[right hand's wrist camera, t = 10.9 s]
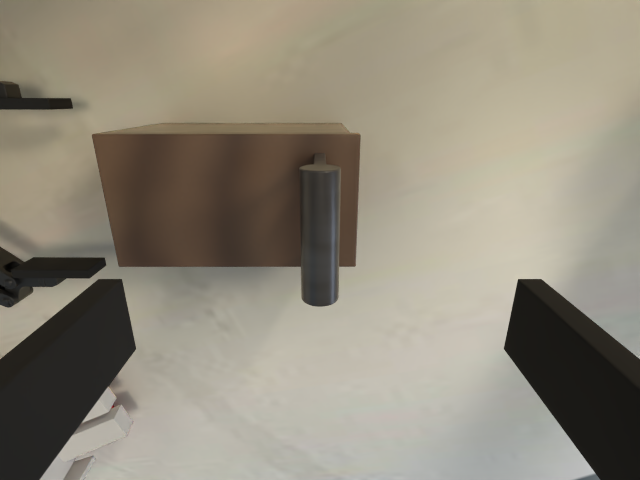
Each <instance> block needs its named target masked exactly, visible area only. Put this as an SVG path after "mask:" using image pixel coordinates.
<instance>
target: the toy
mask: <svg viewBox="0 0 640 480" xmlns="http://www.w3.org/2000/svg"><path fill="white" fill-rule="evenodd" d="M115 400H116V396H115V395H114V394H113V392H112V391H111V389H110V388H109V387H108V388H107V389H106V390H105V392H104V393H103V394H102V396H101V397H100V398H99V400H98V401H97V402H96V404H95V405H94V407H93V408H92V409H91V411H90V412H89V413H88V415H87V416H86V417H85V419H84V420H83V422H82V423H81V424H80V426H79V427H78V428H77V430H76V431H75V432H74V434H73V435H72V436H71V438H70V439H69V441H68V442H67V443H66V445H65V446H64V447H63V449H62V450H61V451H60V453H59V454H58V455H57V457H56V458H55V460H54V461H53V462H52V464H51V465H50V466H49V468H48V469H47V470H46V472H45V473H44V474H43V476H42V477H41V479H40V480H84V479H85V477H86V475H87V473H88V472H89V470H90V468H91V466H92V465H93V463H94V461H95V457H94V456H91V457H88V458H84V459H81V460H78V461H75V462H74V460H75V459H76V457H78V456H80V455H83V454H85V453H88V452H90V451H92V450H95V449H97V448H100V447H102V446H104V445H107V444H109V443H112V442H114V441H116V440H119V439H121V438H124V437H126V436H127V435H128V433H129V430H130V428H131V426H132V424H133V422H134V421H133V420H132V419H131V417H130V416H129V414H128V413H127V412H126V410H125V409H124V407H123V406H122V405H118V406H116V407H114V406H113V404H114V402H115Z"/></svg>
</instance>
